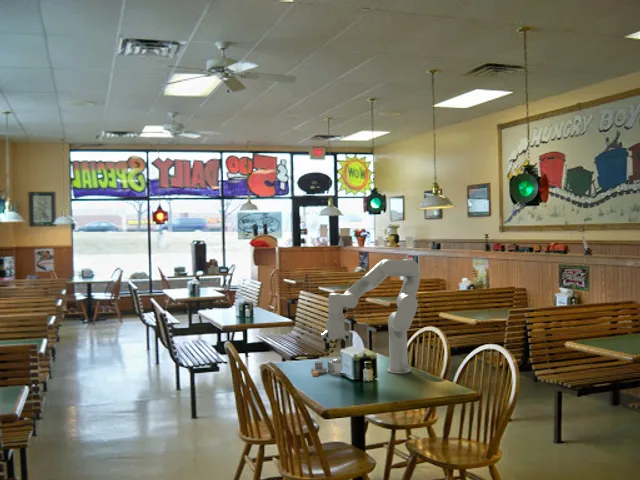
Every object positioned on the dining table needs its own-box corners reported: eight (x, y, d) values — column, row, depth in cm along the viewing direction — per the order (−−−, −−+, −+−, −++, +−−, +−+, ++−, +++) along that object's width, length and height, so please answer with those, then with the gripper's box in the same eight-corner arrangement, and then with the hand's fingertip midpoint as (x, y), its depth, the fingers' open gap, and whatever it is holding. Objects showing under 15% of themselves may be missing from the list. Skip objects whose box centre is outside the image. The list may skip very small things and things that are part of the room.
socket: (345, 373, 329) (345, 359, 328) (334, 375, 325) (334, 361, 325) (338, 370, 334) (338, 357, 334) (327, 372, 331) (327, 359, 331)
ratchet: (322, 376, 323) (322, 365, 323) (307, 375, 325) (307, 365, 325) (328, 370, 336) (328, 360, 336) (313, 370, 338) (313, 359, 338)
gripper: (345, 314, 337) (344, 346, 337) (317, 316, 328) (317, 349, 328) (353, 316, 330) (352, 348, 331) (325, 318, 321) (324, 352, 322)
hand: (335, 349), depth 329 cm, fingers open, 9 cm apart
